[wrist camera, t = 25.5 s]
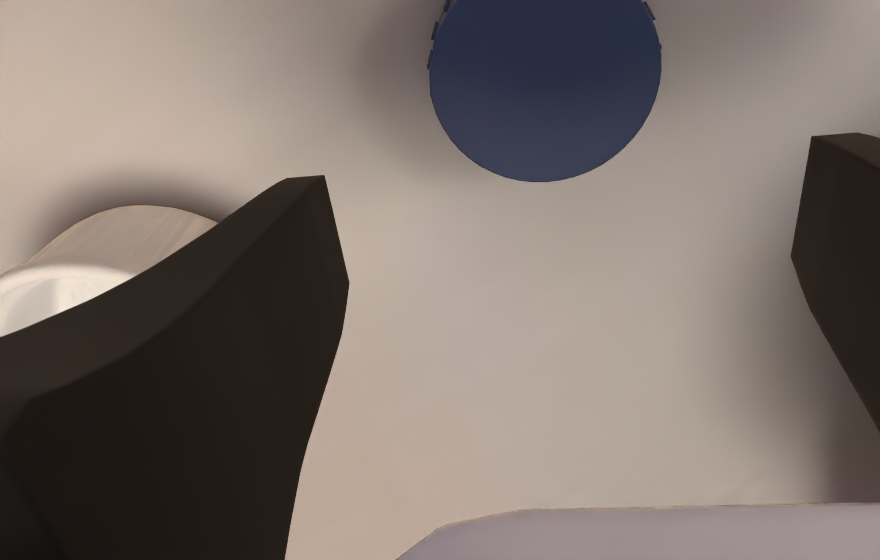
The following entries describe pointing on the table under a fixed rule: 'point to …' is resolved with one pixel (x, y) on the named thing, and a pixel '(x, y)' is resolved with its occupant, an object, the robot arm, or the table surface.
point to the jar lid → (543, 82)
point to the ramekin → (93, 260)
